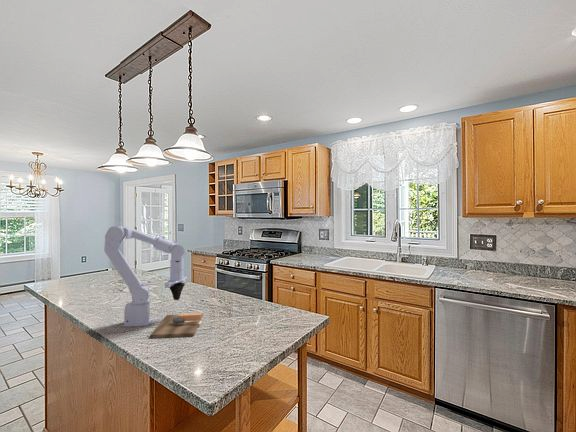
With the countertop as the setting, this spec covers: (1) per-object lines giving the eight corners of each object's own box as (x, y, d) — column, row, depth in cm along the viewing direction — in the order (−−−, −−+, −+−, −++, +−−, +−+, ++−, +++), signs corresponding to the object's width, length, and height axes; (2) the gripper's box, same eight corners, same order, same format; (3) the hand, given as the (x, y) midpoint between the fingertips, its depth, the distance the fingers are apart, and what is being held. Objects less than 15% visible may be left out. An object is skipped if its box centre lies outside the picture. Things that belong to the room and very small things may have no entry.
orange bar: (171, 323, 117) (171, 317, 117) (174, 318, 122) (174, 313, 122) (200, 321, 119) (200, 315, 119) (201, 317, 124) (201, 311, 124)
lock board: (150, 338, 108) (150, 332, 108) (166, 317, 129) (166, 313, 129) (196, 335, 110) (196, 330, 110) (204, 316, 132) (204, 311, 132)
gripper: (175, 273, 121) (175, 305, 121) (193, 267, 135) (192, 295, 135) (160, 272, 123) (160, 303, 123) (180, 266, 137) (179, 294, 137)
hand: (176, 299), depth 129 cm, fingers closed
